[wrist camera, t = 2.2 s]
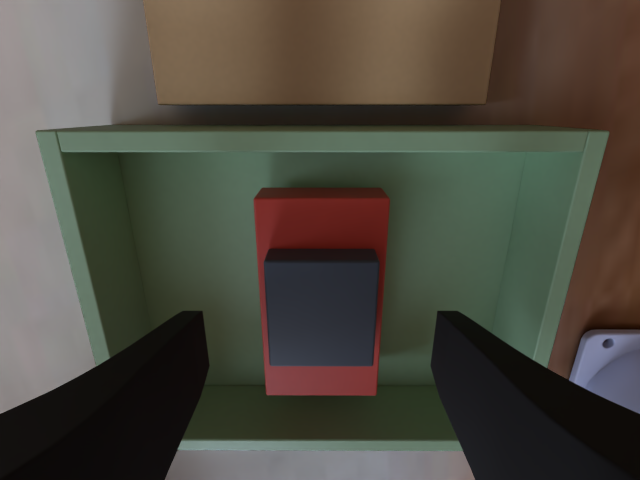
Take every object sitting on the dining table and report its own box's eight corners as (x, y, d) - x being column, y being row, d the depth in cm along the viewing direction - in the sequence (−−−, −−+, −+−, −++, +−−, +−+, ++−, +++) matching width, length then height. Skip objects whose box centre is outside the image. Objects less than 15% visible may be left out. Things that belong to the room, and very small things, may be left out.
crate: (535, 125, 14) (611, 130, 10) (484, 383, 18) (525, 452, 14) (109, 124, 14) (34, 130, 10) (158, 382, 18) (117, 450, 14)
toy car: (379, 184, 14) (397, 206, 10) (369, 358, 16) (381, 419, 13) (263, 183, 14) (245, 206, 10) (273, 358, 16) (261, 418, 13)
